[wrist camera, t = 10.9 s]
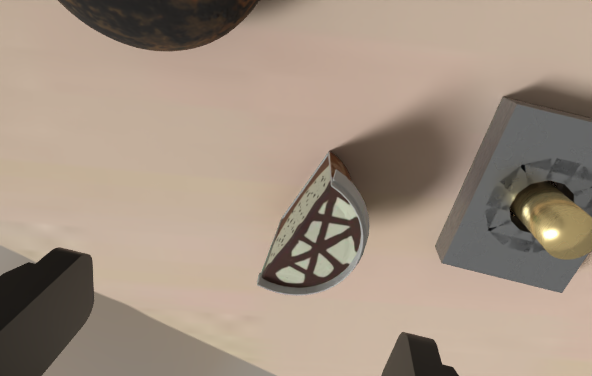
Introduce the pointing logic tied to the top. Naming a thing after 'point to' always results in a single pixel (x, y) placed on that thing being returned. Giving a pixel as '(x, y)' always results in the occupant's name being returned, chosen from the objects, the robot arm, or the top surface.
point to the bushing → (554, 220)
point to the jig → (510, 181)
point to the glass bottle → (161, 20)
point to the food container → (318, 234)
